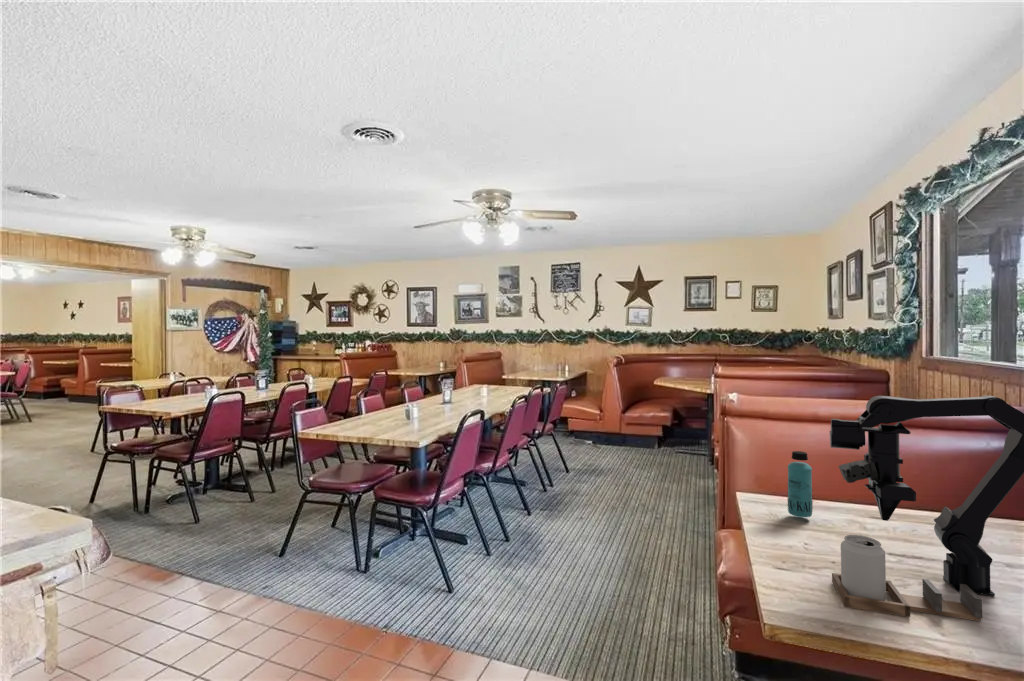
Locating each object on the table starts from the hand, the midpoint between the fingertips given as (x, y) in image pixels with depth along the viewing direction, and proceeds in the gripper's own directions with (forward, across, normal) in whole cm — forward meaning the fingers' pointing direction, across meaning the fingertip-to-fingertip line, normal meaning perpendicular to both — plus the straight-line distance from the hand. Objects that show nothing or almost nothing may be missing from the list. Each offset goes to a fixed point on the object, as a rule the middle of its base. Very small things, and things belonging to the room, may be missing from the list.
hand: (884, 520), depth 112 cm
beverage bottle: (+12, -32, -12) cm, 36 cm away
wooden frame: (+12, +15, -1) cm, 19 cm away
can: (+12, +15, -8) cm, 21 cm away
